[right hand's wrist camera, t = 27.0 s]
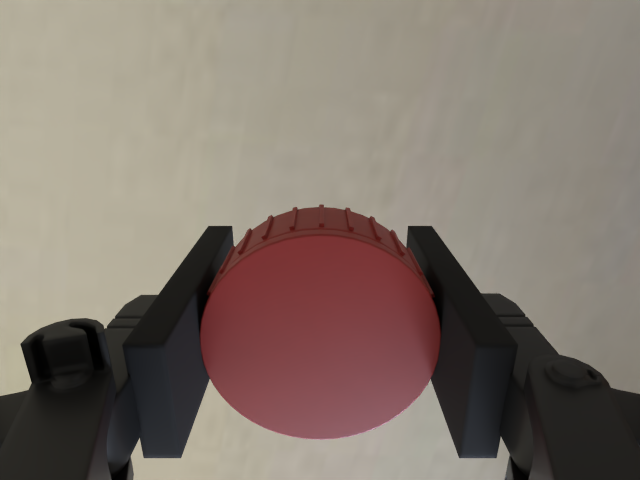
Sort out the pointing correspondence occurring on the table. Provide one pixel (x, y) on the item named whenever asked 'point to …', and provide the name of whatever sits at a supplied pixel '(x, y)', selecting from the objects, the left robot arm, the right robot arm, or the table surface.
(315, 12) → the table surface
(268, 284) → the lid
